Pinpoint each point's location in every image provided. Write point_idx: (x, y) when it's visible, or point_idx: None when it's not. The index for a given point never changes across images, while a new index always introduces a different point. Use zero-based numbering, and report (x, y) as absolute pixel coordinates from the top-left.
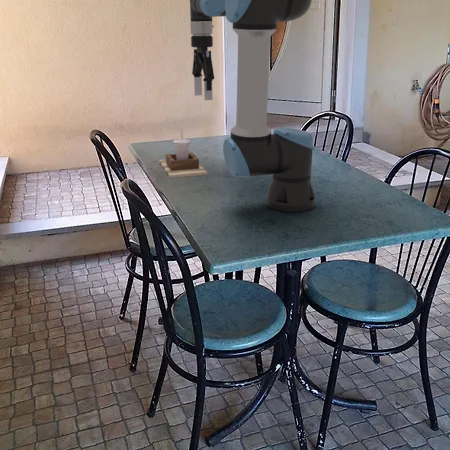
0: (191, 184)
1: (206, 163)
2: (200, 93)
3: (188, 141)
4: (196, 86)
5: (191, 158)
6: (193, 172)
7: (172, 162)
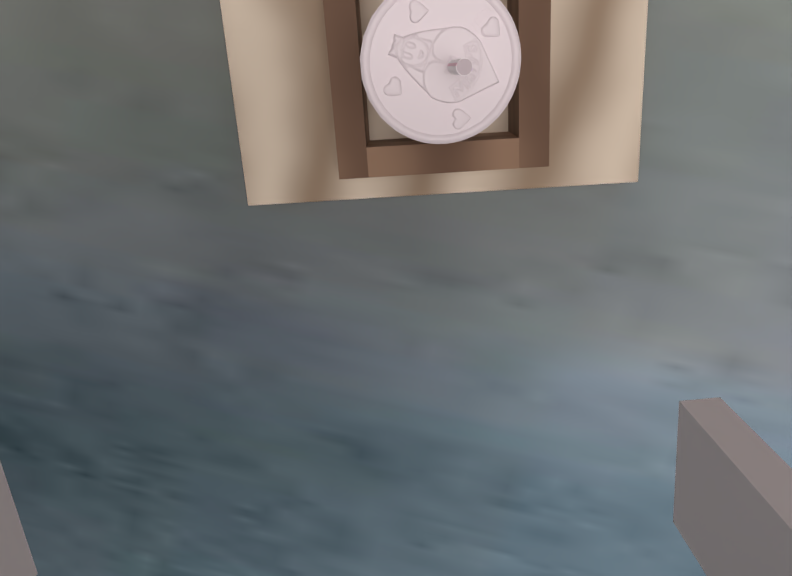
0: (60, 66)
1: (515, 245)
2: (688, 517)
3: (414, 125)
4: (777, 552)
5: None
6: (256, 115)
7: None
